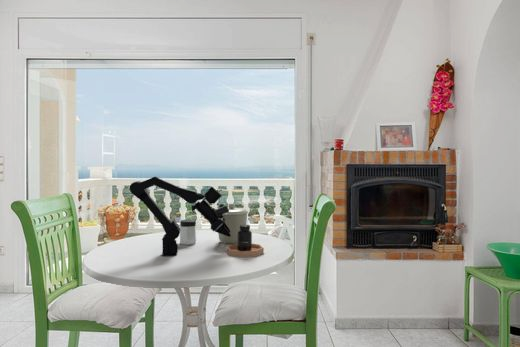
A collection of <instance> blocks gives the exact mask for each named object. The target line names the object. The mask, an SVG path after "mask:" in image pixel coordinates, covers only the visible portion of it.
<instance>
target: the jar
mask: <svg viewBox="0 0 520 347" xmlns="http://www.w3.org/2000/svg"><path fill="white" fill-rule="evenodd" d="M179 225H180V226H179V228H180V234H179V245H185V246H188V245H196V242H197V221H196V220H195V219H182V220H180V221H179Z"/></svg>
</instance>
